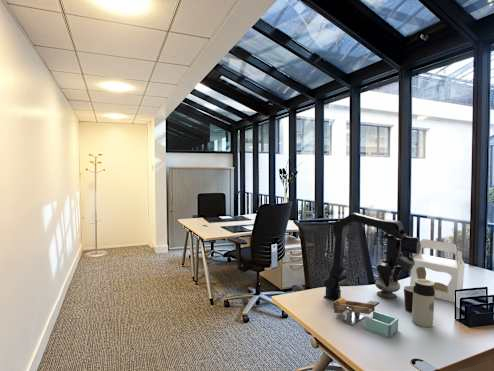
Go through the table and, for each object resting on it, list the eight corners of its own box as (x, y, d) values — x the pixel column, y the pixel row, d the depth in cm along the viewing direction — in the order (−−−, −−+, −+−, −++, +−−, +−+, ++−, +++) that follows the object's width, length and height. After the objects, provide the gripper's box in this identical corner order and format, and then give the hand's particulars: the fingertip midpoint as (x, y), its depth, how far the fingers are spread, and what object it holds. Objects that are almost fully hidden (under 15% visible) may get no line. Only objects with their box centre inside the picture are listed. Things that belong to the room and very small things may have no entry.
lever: (333, 313, 142) (332, 302, 142) (349, 303, 152) (347, 293, 153) (369, 319, 131) (368, 307, 131) (383, 308, 141) (381, 297, 142)
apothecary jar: (376, 298, 163) (377, 263, 162) (372, 290, 174) (374, 257, 173) (402, 301, 160) (404, 265, 159) (397, 292, 171) (398, 259, 170)
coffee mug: (412, 315, 145) (413, 293, 144) (398, 307, 153) (399, 286, 152) (433, 312, 148) (434, 291, 147) (418, 305, 156) (419, 284, 155)
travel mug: (407, 320, 140) (409, 279, 139) (421, 317, 143) (423, 277, 142) (423, 328, 132) (425, 285, 131) (437, 326, 135) (439, 283, 134)
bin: (364, 329, 131) (365, 317, 131) (373, 322, 137) (373, 310, 137) (389, 338, 124) (390, 325, 124) (397, 330, 130) (398, 318, 130)
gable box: (463, 296, 169) (466, 243, 167) (456, 303, 159) (460, 247, 158) (417, 284, 185) (419, 236, 183) (409, 290, 175) (411, 239, 174)
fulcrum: (341, 321, 137) (342, 307, 136) (353, 313, 145) (353, 299, 144) (352, 326, 133) (353, 310, 133) (364, 317, 141) (364, 303, 141)
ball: (338, 307, 142) (335, 299, 142) (341, 305, 144) (339, 297, 145) (345, 306, 139) (342, 298, 140) (348, 304, 142) (346, 296, 143)
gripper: (404, 257, 129) (402, 295, 130) (420, 249, 142) (418, 284, 143) (377, 251, 137) (375, 287, 138) (394, 245, 150) (392, 277, 151)
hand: (391, 284), depth 142 cm, fingers open, 9 cm apart
